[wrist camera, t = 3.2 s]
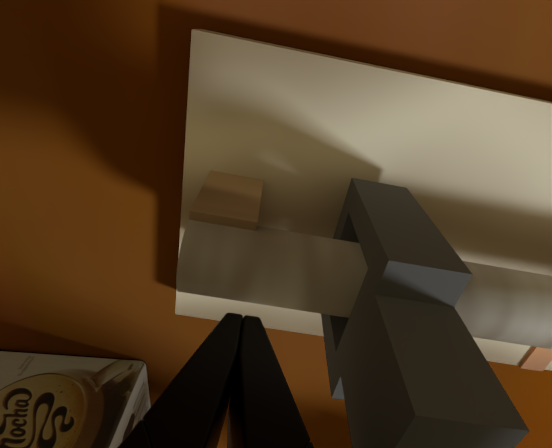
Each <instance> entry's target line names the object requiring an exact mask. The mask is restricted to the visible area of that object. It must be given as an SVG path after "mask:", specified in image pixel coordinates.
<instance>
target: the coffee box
mask: <svg viewBox="0 0 552 448" xmlns="http://www.w3.org/2000/svg"><path fill="white" fill-rule="evenodd" d="M150 408H151V404H150V395H149V387H148V378H147V370H146V364H145V363H144V362H143V361H137V360H121V359H107V358H93V357H78V356H65V355H50V354H36V353H21V352H6V351H0V448H118V446H119V445H120V444H121V443H122V442H123V441H124V439H125V438H126V437H127V436H128V435H129V433H130V432H131V431H132V430H133V428H134V427H135V426H136V425H137V423H138V422H139V421H140V420H143V416H144V415H145V414H146V413H147V411H148V410H149V409H150Z"/></svg>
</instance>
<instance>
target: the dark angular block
mask: <svg viewBox="0 0 552 448" xmlns="http://www.w3.org/2000/svg"><path fill="white" fill-rule="evenodd" d="M333 239H338V240H343V241H349V242H355V243H360V246H361V249H362V252H363V255H364V258H365V261H366V264H367V266H368V270H367V273H366V275H365V278H364V280H363V283H362V286H361V288H360V291H359V293H358V296H357V299H356V301H355V304H354V306H353V309H352V312H351V314H350V317H349V318H346V317H339V316H333V315H326V314H321V318H322V326H323V334H324V342H325V350H326V358H327V366H328V374H329V382H330V390H331V397H332V398H336V399H343V400H345V405H346V411H347V418H348V424H349V430H350V436H351V443H352V448H514V447H515V446H516V445H517V444H518V443H519V442H520V441H521V440H522V439H523V437H524V436H525V435H526V434H527V433H528V432H529V429H528V428H527V426H526V424H525V423H524V421H523V420H522V418H521V416H520V415H519V413H518V411H517V410H516V408H515V406H514V405H513V403H512V401H511V400H510V398H509V396H508V395H507V393H506V391H505V390H504V388H503V387H502V385H501V383H500V382H499V380H498V378H497V377H496V375H495V373H494V372H493V370H492V368H491V367H490V365H489V363H488V362H487V360H486V359H485V357H484V355H483V354H482V352H481V350H480V349H479V347H478V345H477V344H476V342H475V340H474V339H473V337H472V335H471V334H470V332H469V331H468V329H467V327H466V326H465V324H464V322H463V321H462V319H461V317H460V316H459V314H458V312H457V311H456V309H455V305H456V303H457V301H458V300H459V298H460V296H461V294H462V293H463V291H464V289H465V287H466V286H467V284H468V282H469V280H470V279H471V277H472V275H473V274H472V273H471V271H470V270H469V269H468V268H467V266H466V265H465V264H464V262H463V261H462V260H461V258H460V257H459V256H458V254H457V253H456V252H455V250H454V249H453V248H452V247H451V245H450V244H449V243H448V241H447V240H446V239H445V237H444V236H443V235H442V233H441V232H440V231H439V229H438V228H437V227H436V226H435V224H434V223H433V222H432V220H431V219H430V218H429V216H428V215H427V214H426V212H425V211H424V210H423V208H422V207H421V206H420V205H419V203H418V202H417V201H416V199H415V198H414V197H413V195H412V194H411V193H410V191H409V190H408V189H407V188H406V187H400V186H395V185H389V184H384V183H378V182H373V181H368V180H362V179H357V178H351V182H350V185H349V188H348V191H347V195H346V198H345V201H344V204H343V207H342V211H341V214H340V217H339V220H338V224H337V227H336V230H335V233H334V237H333Z"/></svg>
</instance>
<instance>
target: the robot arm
mask: <svg viewBox="0 0 552 448" xmlns="http://www.w3.org/2000/svg"><path fill="white" fill-rule="evenodd" d="M230 393H231V394H230ZM229 398H230V401H229ZM228 404H229V412H228V434H227V448H314V447H313V445H312V443H311V442H309V441H310V438H309V435H308V433H307V430H306V428H305V426H304V423H303V421H302V418H301V416H300V413H299V411H298V409H297V406H296V404H295V401H294V399H293V396H292V394H291V392H290V389H289V387H288V384H287V382H286V379H285V377H284V375H283V372H282V370H281V367H280V365H279V362H278V360H277V357H276V355H275V353H274V350H273V348H272V345H271V343H270V340H269V338H268V336H267V333H266V331H265V328H264V326H263V323H262V321H261V319H260V318H259V317H256V316H249V315H245V316H244V317H243V315H241V314H236V313H230V312H229V313H226V314H225V316H224V317H223V318H222V319H221V321H220V322H219V323H218V324H217V325H216V327H215V328H214V329H213V330H212V332H211V333H210V334H209V335H208V337H207V338H206V339H205V340H204V342H203V343H202V344H201V345H200V347H199V348H198V349H197V350H196V352H195V353H194V354H193V355H192V357H191V358H190V359H189V360H188V362H187V363H186V364H185V365H184V367H183V368H182V369H181V370H180V371H179V373H178V374H177V375H176V376H175V378H174V379H173V380H172V381H171V383H170V384H169V385H168V386H167V388H166V389H165V390H164V391H163V393H162V394H161V395H160V396H159V398H158V399H157V400H156V401H155V403H154V404H153V405H152V406H151V408H150V409H149V410H148V411H147V413H146V414H145V415H144V416H143V420H140V421H139V422H138V423H137V425H136V426H135V427H134V428H133V430H132V431H131V432H130V433H129V435H128V436H127V437H126V438H125V439H124V441H123V442H122V443H121V444H120V445H119V446H118V448H217V445H218V441H219V437H220V434H221V430H222V427H223V423H224V420H225V416H226V412H227V408H228Z"/></svg>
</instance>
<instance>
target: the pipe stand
mask: <svg viewBox="0 0 552 448" xmlns="http://www.w3.org/2000/svg"><path fill="white" fill-rule="evenodd" d="M351 178H357V179H362V180H368V181H373V182H378V183H384V184H389V185H395V186H400V187H406V188H407V189H408V190H409V191H410V193H411V194H412V195H413V197H414V198H415V199H416V201H417V202H418V203H419V205H420V206H421V207H422V208H423V210H424V211H425V212H426V214H427V215H428V216H429V218H430V219H431V220H432V222H433V223H434V224H435V226H436V227H437V228H438V229H439V231H440V232H441V233H442V235H443V236H444V237H445V239H446V240H447V241H448V243H449V244H450V245H451V247H452V248H453V249H454V250H455V252H456V253H457V254H458V256H459V257H460V258H461V260H462V261H463V262H464V264H465V265H466V266H467V268H468V269H469V270H470V271H471V273H472V274H473V275H472V277H471V279H470V280H469V282H468V284H467V286H466V287H465V289H464V291H463V293H462V294H461V296H460V298H459V300H458V301H457V303H456V305H455V309H456V311H457V312H458V314H459V316H460V317H461V319H462V321H463V322H464V324H465V326H466V327H467V329H468V331H469V332H470V334H471V335H472V337H473V339H474V340H475V342H476V344H477V345H478V347H479V349H480V350H481V352H482V354H483V355H484V357H485V359H486V360H487V361H492V362H498V363H505V364H512V365H518V366H519V367H520V368H524V369H530V370H537V371H543V370H544V369H545V370H552V102H551V101H547V100H542V99H537V98H532V97H527V96H522V95H518V94H513V93H508V92H503V91H498V90H493V89H489V88H484V87H479V86H474V85H469V84H465V83H460V82H455V81H450V80H445V79H440V78H436V77H431V76H426V75H421V74H416V73H411V72H407V71H402V70H397V69H392V68H387V67H383V66H378V65H373V64H368V63H363V62H358V61H354V60H349V59H344V58H339V57H334V56H329V55H325V54H320V53H315V52H310V51H305V50H301V49H296V48H291V47H286V46H281V45H276V44H272V43H267V42H262V41H257V40H252V39H247V38H243V37H238V36H233V35H228V34H223V33H219V32H214V31H209V30H204V29H192V31H191V48H190V65H189V83H188V100H187V117H186V135H185V152H184V169H183V187H182V204H181V222H180V239H179V256H178V265H177V274H176V287H177V291H176V308H175V314H178V315H185V316H192V317H198V318H205V319H212V320H218V321H221V319H222V318H223V317H224V316H225V314H226V313H229V312H230V313H236V314H241V315H243V317H244V316H245V315H249V316H256V317H259V318H260V319H261V321H262V323H263V326H264V327H265V328H272V329H278V330H285V331H292V332H298V333H305V334H312V335H318V336H324V334H323V326H322V318H321V314H326V315H333V316H339V317H346V318H349V317H350V314H351V312H352V309H353V306H354V304H355V301H356V299H357V296H358V293H359V291H360V288H361V286H362V283H363V280H364V278H365V275H366V273H367V270H368V266H367V264H366V261H365V258H364V255H363V252H362V249H361V246H360V243H355V242H349V241H343V240H338V239H333V237H334V233H335V230H336V227H337V224H338V220H339V217H340V214H341V211H342V207H343V204H344V201H345V198H346V195H347V191H348V188H349V185H350V182H351Z"/></svg>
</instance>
